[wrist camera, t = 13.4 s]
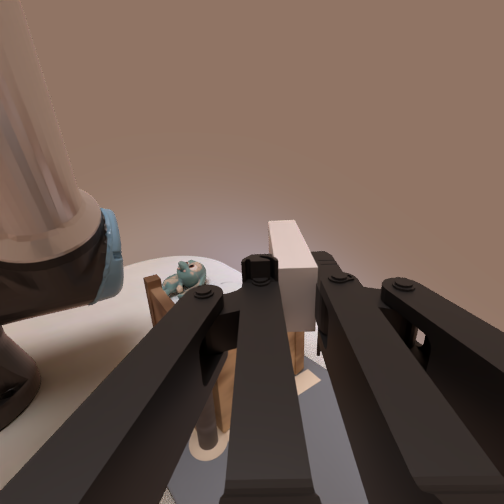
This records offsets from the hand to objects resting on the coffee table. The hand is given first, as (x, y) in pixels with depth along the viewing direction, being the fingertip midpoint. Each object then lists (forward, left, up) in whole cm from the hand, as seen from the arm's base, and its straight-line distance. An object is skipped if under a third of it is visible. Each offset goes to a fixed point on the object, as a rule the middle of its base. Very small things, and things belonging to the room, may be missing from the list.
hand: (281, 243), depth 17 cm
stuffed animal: (-42, +12, -24) cm, 50 cm away
